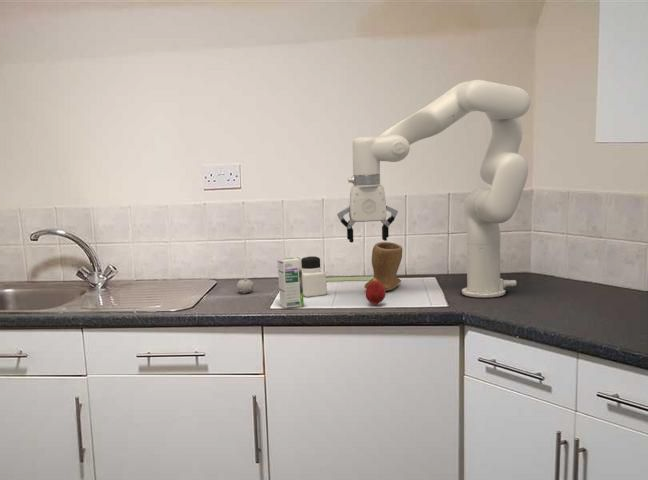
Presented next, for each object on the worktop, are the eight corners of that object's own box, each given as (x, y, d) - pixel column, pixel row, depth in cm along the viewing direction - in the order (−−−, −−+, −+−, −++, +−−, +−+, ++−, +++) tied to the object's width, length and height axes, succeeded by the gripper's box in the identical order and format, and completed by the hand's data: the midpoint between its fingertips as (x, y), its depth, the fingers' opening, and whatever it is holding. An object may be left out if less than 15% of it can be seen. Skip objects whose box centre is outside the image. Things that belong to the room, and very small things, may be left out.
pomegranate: (385, 307, 218) (384, 280, 217) (365, 307, 219) (364, 280, 218) (386, 303, 224) (385, 276, 222) (366, 303, 225) (365, 276, 224)
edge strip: (373, 276, 266) (373, 276, 266) (373, 280, 260) (373, 279, 260) (316, 278, 269) (316, 277, 269) (315, 281, 263) (315, 280, 263)
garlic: (252, 294, 247) (251, 278, 246) (236, 295, 248) (235, 279, 247) (254, 290, 253) (253, 275, 252) (238, 291, 254) (237, 276, 253)
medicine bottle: (327, 294, 241) (325, 257, 238) (306, 297, 238) (305, 259, 236) (317, 290, 247) (315, 254, 245) (297, 293, 245) (295, 256, 242)
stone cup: (397, 294, 235) (396, 246, 232) (360, 292, 241) (359, 245, 238) (410, 284, 249) (409, 239, 246) (375, 283, 254) (374, 239, 251)
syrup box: (285, 308, 224) (283, 260, 221) (279, 304, 230) (277, 257, 227) (303, 306, 226) (301, 258, 223) (297, 302, 231) (295, 255, 228)
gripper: (338, 183, 211) (340, 244, 215) (399, 180, 212) (400, 241, 215) (334, 182, 219) (336, 241, 222) (393, 179, 219) (394, 237, 223)
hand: (367, 241), depth 219 cm, fingers open, 9 cm apart
